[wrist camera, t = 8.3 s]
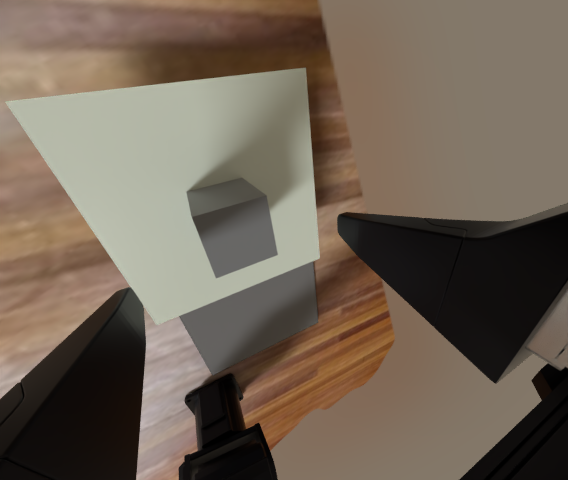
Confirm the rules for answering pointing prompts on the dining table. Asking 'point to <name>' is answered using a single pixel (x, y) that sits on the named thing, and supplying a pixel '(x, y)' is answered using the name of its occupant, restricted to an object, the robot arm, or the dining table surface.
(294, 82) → the lid
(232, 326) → the mat
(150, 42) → the dining table surface
